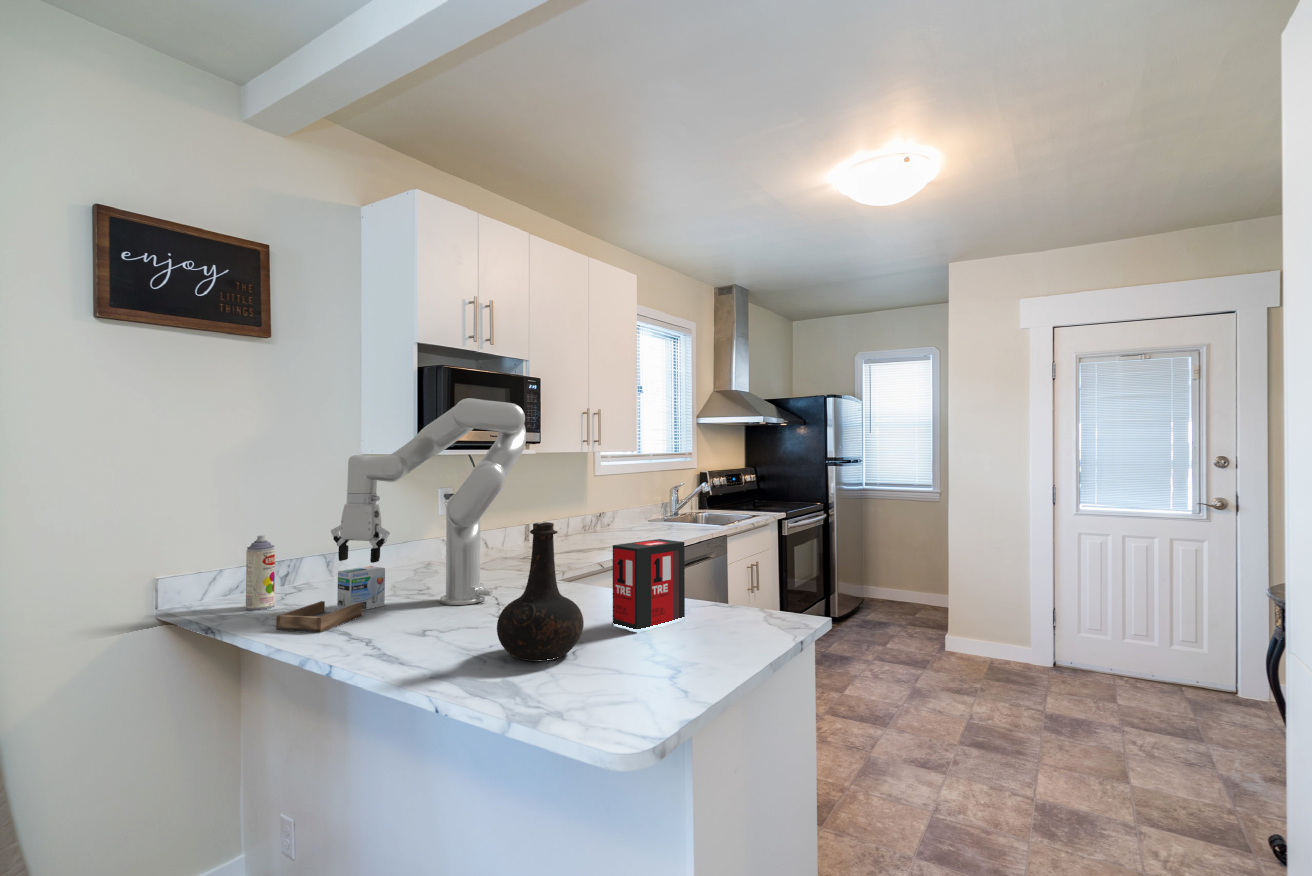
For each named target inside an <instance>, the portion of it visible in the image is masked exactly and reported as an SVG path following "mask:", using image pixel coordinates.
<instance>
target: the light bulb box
mask: <svg viewBox="0 0 1312 876" xmlns="http://www.w3.org/2000/svg"><path fill="white" fill-rule="evenodd" d="M385 579H386V568H385V567H381V566H376V565H375V566H374V565H366V566H361V567H356V568H350V569H344V570H343V569H342V570H338V571H337V599H336V600H337V603H336V604H337V605H336V606H337V607H336V611H337V610H340V609H343V608H345V607H348V606H351V605H354V604H356V603H362V611H366V610H370V608H371V609H374V608H375V607H376V608H380V606H381V607H385V599H386V596H385V593H386V587H385V586H386V582H385V581H386V580H385ZM365 609H366V610H365Z"/></svg>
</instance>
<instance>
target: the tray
mask: <svg viewBox="0 0 1312 876" xmlns="http://www.w3.org/2000/svg"><path fill="white" fill-rule="evenodd" d="M325 603H326V602H325V600H322V601H321V600H320V601H317V602H314V603H312V604H308V605H306V606H302V607H298V608H297V609H293V610H290V611H288V612H285V613H284V612H283V613H281V614H279V615H276V616H275V617H276V619H275V620H276V621H275V623H276V625H275V629H276V630H282V632H296V631H306V632H305V633H316V632H321V633H323V632H322V631H324V632H326V631H328V630H327V629H329V630H331V629H333V628H332V627H334V628H336V627H338V626H337V625H339V626H341V625H343V624H342V623H344V624H346V623H349V622H351V621H353V619H354V620H355V618H356V619H358V617H359V618H361V617H363V610H362V603H356V604H354V605H351V606H348V607H345V608H343V609H340V610H337V609H336V610H334V611H325V609H326V605H325ZM350 620H351V621H350ZM348 621H349V622H348ZM345 622H346V623H345ZM340 624H341V625H340ZM335 626H336V627H335ZM330 628H331V629H330ZM325 630H326V631H325Z"/></svg>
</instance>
